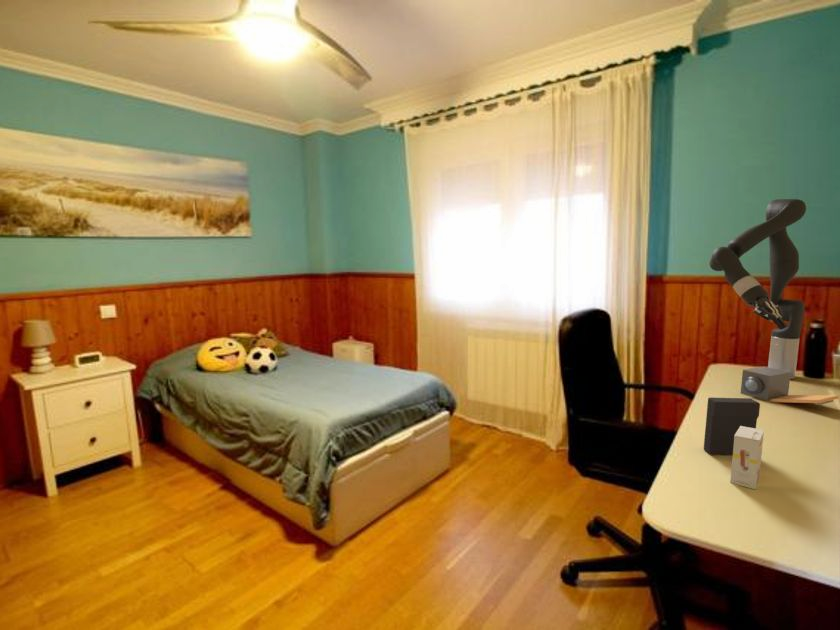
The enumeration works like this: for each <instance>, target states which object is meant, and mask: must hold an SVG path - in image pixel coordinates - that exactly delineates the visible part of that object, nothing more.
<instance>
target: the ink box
mask: <svg viewBox="0 0 840 630" xmlns="http://www.w3.org/2000/svg"><path fill="white" fill-rule="evenodd" d="M764 434H765V430H764V429H760V428H756V429H755V428H750V427H744V426H740V427H739V429H738V430H737V432H736V434H735V435H734V447H733V455H732V461H731V471H730V481H729V482H730V483H731V484H735V485H738V486H743V487H746V488H749V489H752V490H756V488H757V486H758V483H759V482H758V480H759V477H760V473H761V472H760V471H761V465H762V464H761V463H762V454H763V443H764Z"/></svg>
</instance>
